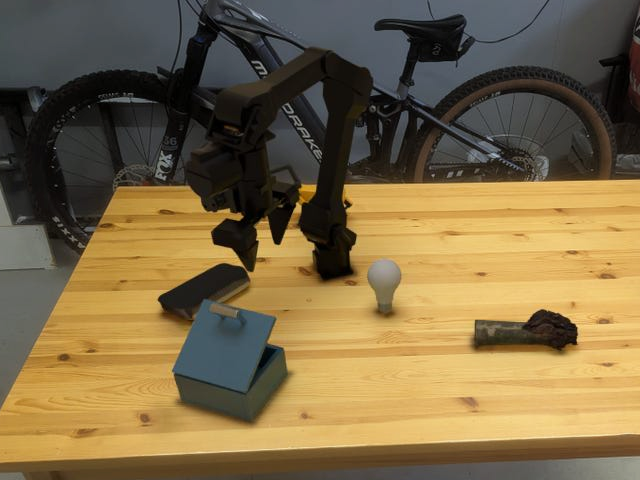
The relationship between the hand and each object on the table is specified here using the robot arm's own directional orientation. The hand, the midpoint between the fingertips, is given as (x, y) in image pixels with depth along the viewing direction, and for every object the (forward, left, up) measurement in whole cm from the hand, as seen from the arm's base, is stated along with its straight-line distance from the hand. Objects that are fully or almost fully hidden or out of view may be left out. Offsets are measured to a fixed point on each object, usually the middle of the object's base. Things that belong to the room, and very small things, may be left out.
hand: (264, 257), depth 114 cm
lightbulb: (-19, +8, -12) cm, 24 cm away
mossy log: (-38, +26, -12) cm, 48 cm away
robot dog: (-17, -29, -12) cm, 36 cm away
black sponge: (+10, -9, -12) cm, 18 cm away
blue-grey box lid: (+11, +17, -3) cm, 20 cm away
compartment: (+11, +17, -12) cm, 23 cm away
